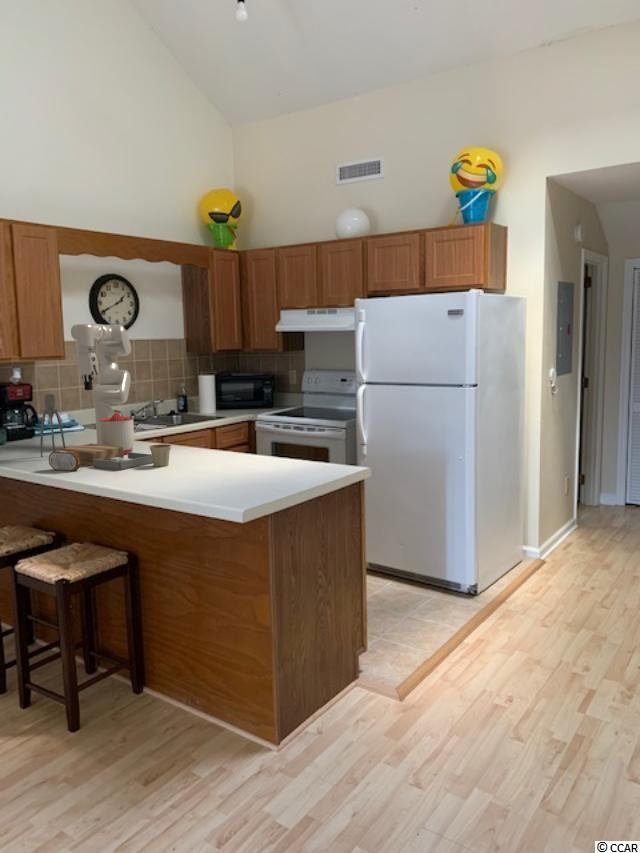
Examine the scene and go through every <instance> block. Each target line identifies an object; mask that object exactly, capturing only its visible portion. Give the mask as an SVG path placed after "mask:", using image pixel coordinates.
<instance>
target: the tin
mask: <svg viewBox="0 0 640 853" xmlns="http://www.w3.org/2000/svg"><path fill="white" fill-rule="evenodd" d="M48 463H49V467H51V468H52V469H53V470H55V471H65V472H74V471H78V470H79V469H80V468H81V466H82V464H81V458H80V456H79V454H78V453H76V452H75V451H64V450H62V449H58V450H57V449H55V451H54V452H53V451H52V452H51V453H50V454H49V455H48Z"/></svg>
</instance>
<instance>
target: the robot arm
mask: <svg viewBox="0 0 640 853" xmlns="http://www.w3.org/2000/svg"><path fill="white" fill-rule="evenodd" d="M70 335H71V338H72V339H74V340H75V341H76V345H77V347H76V348H77V358H76V366H77V368H76V370H77V374H78V375H79V378H82V381H83V383H84V384H83V386H84V391H91V396H92V402H93V406H94V415H95V416H94V417H95V432H96V444H98V445H103V444H102V438H101V424H100V419H103V418H111V417H112V416H113V415H114V414H115V413H116V412H115V410H114V408H113V407H112V406H111V404H112V405H116V404H117V405H118V404H121V405H122V404H125V403H126V402H127V401H128V398H129V393H130V388H131V382H132V381H131V379H132V378H131V374H130V372H129V370H126V369H119V364H118V363H117V362H116V360H114V358H112V357H126V356H130V355H131V352H132V344H131V342H130V338H129V336H128V333H127V330H126V328H125V326H123V325H122V324H101V323H81V324H80V323H79V324H73V325H72V326H71V328H70ZM95 342H98V343H97V354H98V356H97V354H96V353H95V352H96V351H95ZM98 358H99V361H100V365H101V367H100V371H99V362H98ZM97 375H99V376H98V384H99V385H97V386H94V387H93V382H94V379H95V378H97Z"/></svg>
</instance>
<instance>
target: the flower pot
mask: <svg viewBox="0 0 640 853" xmlns="http://www.w3.org/2000/svg"><path fill="white" fill-rule="evenodd" d="M148 447H149V451H150V453H151V454H152V459H153V463H152V464H153V466H154V467H156V468H157V467H160V468H162V467H168V466H169V463H170V454H171V448H172V444H167V443H166V444H165V443H161V444H152V445H148Z"/></svg>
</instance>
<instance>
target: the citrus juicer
mask: <svg viewBox="0 0 640 853" xmlns="http://www.w3.org/2000/svg"><path fill="white" fill-rule="evenodd" d="M100 424H101V438H102V444H103V445H108V446H118V447H123V455H128V452H132V451H133V449H134V444H135V443H134V442H135V429H138V425H136V424H135V418H130V417H129V416H122V415H121V414H120V413H119V412H117V411H116V412H115V414H114V415H113V416H112V417H111V418H103V419H100Z"/></svg>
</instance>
